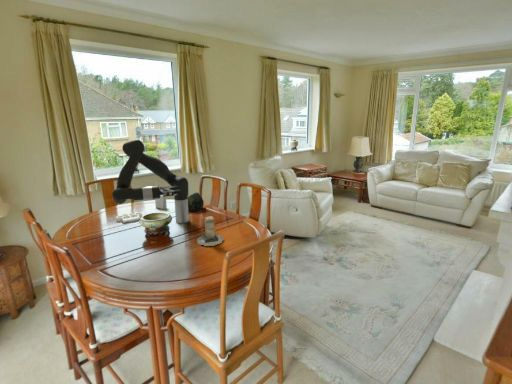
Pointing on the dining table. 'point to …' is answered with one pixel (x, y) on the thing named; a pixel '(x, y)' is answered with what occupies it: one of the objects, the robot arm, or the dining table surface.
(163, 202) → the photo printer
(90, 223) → the dining table surface
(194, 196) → the squash
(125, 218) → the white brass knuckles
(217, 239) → the rosette plate
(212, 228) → the wedge peg
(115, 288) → the dining table surface
